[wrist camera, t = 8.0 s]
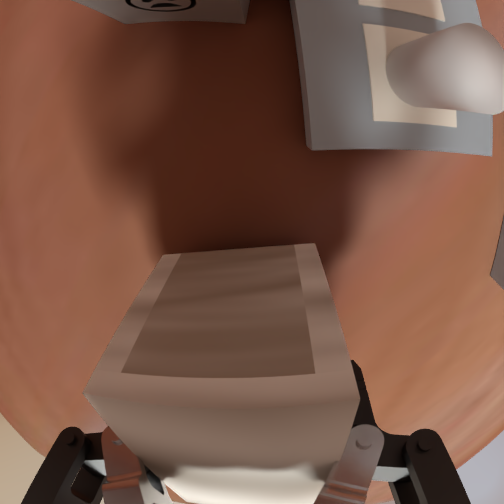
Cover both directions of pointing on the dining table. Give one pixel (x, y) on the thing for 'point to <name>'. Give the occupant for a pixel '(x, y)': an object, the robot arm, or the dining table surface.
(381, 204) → the dining table surface
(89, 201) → the dining table surface
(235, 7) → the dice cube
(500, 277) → the board
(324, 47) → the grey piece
